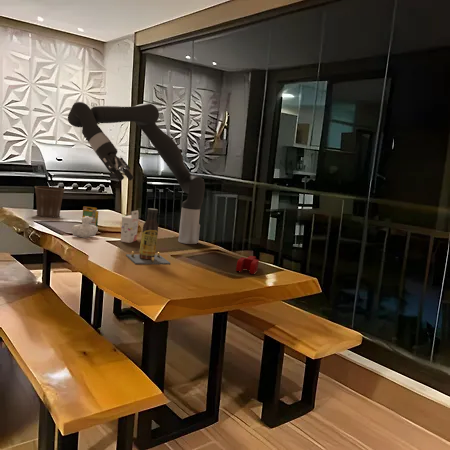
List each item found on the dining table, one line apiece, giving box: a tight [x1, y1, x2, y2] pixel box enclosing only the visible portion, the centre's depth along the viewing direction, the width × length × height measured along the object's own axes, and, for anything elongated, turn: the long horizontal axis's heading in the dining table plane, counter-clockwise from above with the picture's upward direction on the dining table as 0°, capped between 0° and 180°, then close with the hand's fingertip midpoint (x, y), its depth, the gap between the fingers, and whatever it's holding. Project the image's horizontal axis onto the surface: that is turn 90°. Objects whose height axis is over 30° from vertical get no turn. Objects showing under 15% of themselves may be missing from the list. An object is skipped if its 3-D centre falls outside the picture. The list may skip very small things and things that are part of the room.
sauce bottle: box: [139, 207, 159, 260], centre depth 183 cm, size 6×6×20 cm
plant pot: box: [34, 185, 66, 218], centre depth 265 cm, size 16×16×16 cm
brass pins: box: [130, 250, 161, 263], centre depth 183 cm, size 12×10×2 cm
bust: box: [71, 216, 99, 239], centre depth 214 cm, size 12×8×11 cm
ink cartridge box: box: [120, 209, 139, 244], centre depth 218 cm, size 9×5×15 cm, turn 168°
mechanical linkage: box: [235, 255, 260, 275], centre depth 187 cm, size 16×7×5 cm, turn 166°
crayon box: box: [81, 206, 99, 227], centre depth 237 cm, size 7×3×12 cm, turn 84°
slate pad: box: [125, 253, 171, 265], centre depth 184 cm, size 14×14×1 cm
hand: (127, 179), depth 183 cm, fingers open, 8 cm apart
